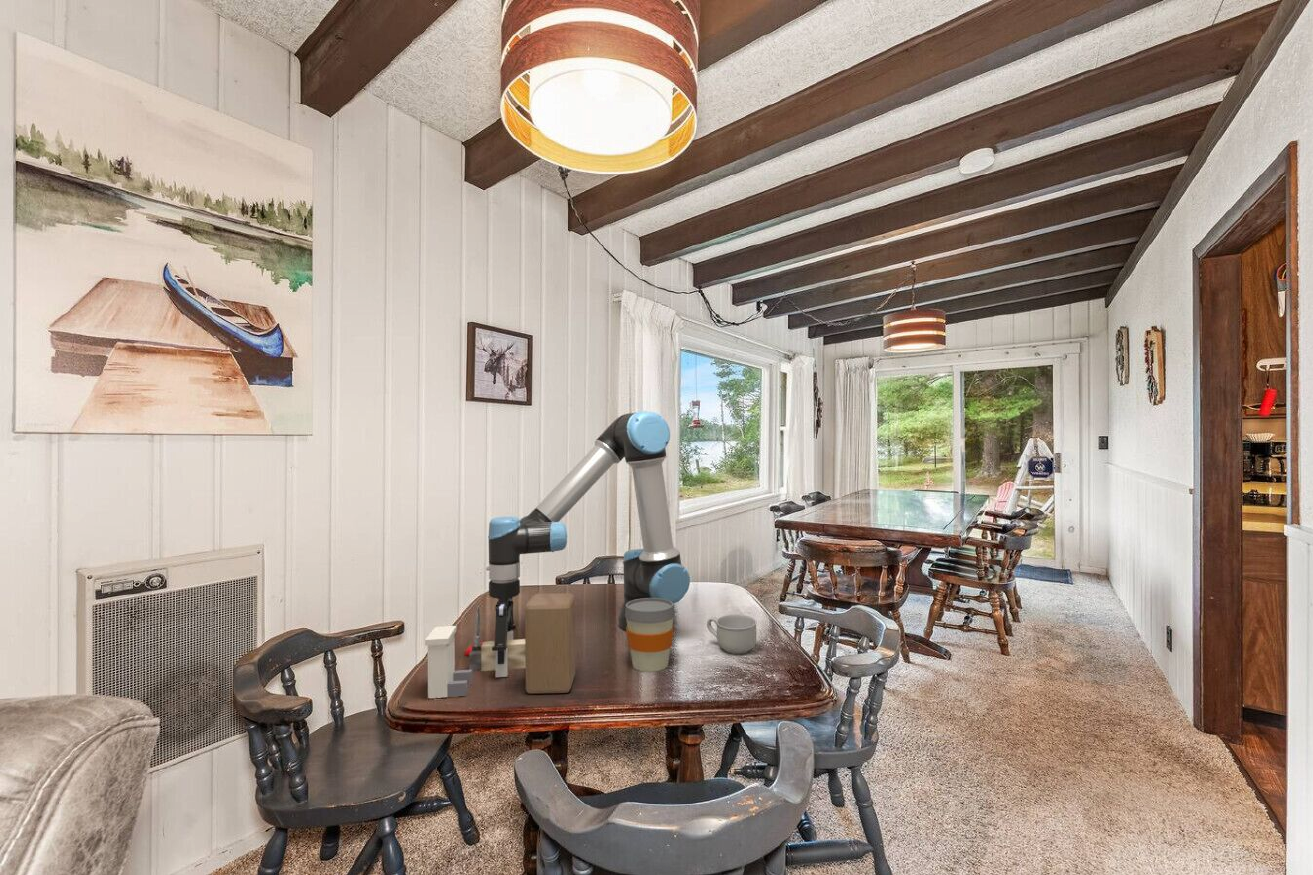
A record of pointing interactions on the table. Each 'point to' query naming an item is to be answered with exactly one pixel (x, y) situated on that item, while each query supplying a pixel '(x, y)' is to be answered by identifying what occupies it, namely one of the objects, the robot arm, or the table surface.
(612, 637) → the table surface
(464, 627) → the table surface
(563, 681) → the block
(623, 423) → the robot arm
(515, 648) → the rail
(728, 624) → the teacup
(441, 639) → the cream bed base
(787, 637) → the table surface
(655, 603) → the reusable coffee cup
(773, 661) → the table surface
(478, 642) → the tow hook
